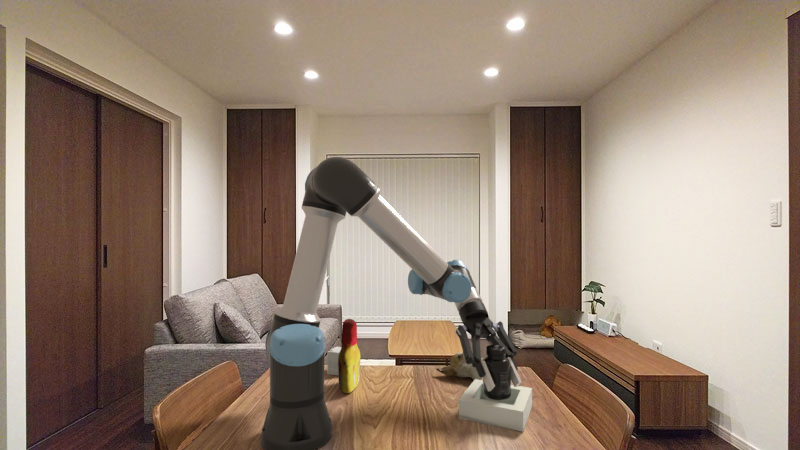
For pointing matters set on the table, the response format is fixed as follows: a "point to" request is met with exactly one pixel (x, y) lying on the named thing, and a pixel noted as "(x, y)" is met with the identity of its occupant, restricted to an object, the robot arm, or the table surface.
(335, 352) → the skincare box
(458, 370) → the ceramic sculpture
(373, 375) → the table surface
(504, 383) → the supplement bottle
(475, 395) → the holder
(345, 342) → the bottle
